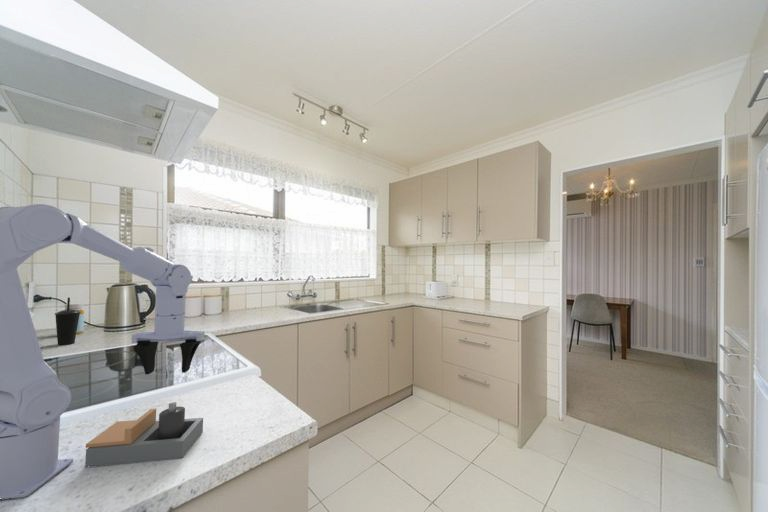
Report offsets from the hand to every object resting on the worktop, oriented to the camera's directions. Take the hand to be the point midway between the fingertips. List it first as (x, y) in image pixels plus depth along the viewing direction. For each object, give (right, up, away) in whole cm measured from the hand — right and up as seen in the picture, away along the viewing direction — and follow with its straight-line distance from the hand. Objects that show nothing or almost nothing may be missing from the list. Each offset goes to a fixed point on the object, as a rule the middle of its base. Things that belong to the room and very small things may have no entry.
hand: (167, 372), depth 67 cm
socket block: (+7, -9, -13) cm, 17 cm away
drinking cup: (-86, -11, +55) cm, 103 cm away
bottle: (-103, -11, +72) cm, 126 cm away
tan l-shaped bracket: (+2, -6, -14) cm, 15 cm away
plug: (+10, -9, -13) cm, 19 cm away
